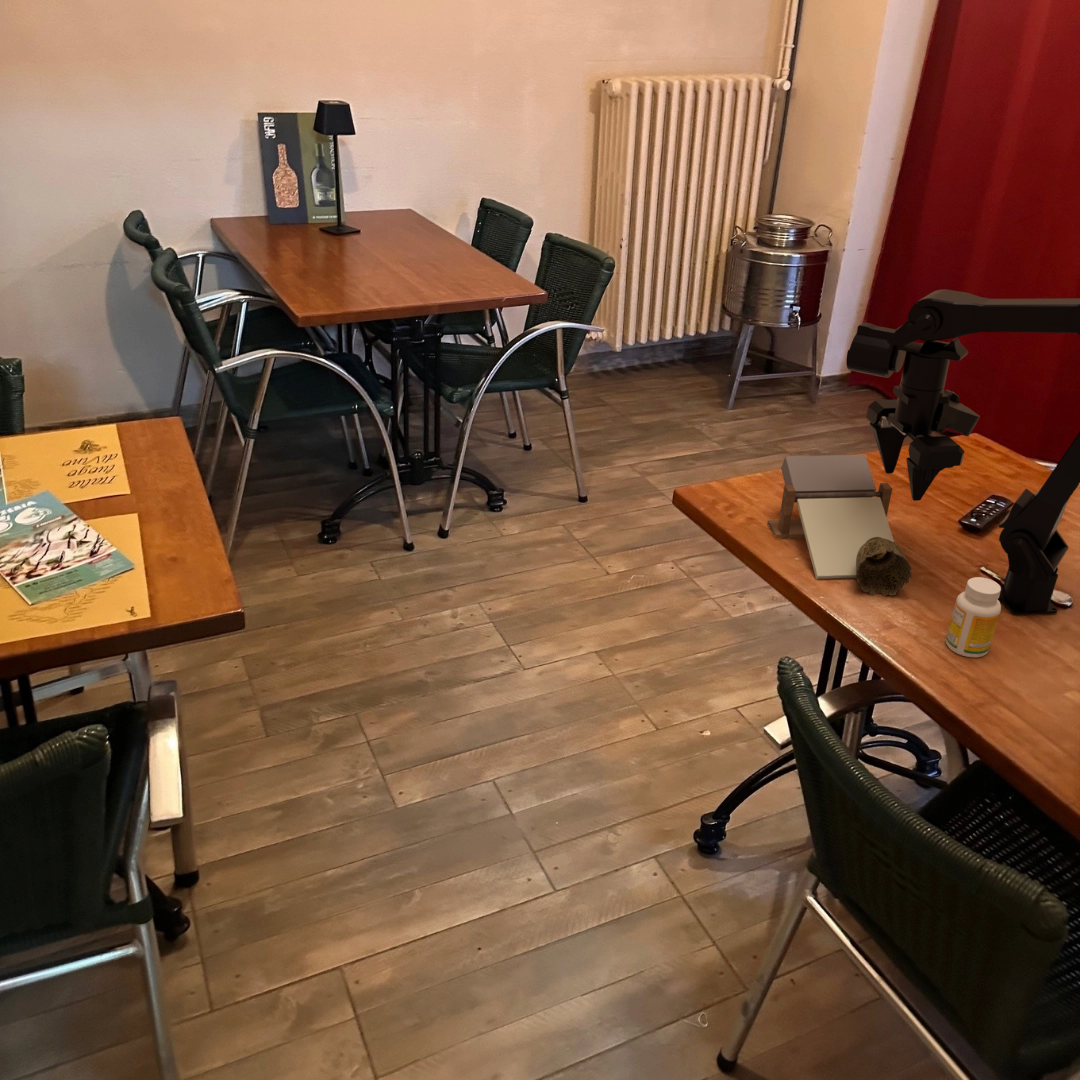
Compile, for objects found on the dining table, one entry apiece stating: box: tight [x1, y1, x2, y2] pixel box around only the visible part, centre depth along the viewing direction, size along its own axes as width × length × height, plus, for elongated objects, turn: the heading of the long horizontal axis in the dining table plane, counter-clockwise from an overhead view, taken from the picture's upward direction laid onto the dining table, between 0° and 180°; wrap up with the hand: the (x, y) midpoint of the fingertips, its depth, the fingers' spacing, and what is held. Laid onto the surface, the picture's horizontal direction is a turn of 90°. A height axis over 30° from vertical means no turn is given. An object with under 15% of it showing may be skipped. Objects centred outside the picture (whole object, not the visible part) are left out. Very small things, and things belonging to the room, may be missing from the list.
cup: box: [856, 537, 913, 597], centre depth 141 cm, size 8×7×8 cm
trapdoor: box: [780, 454, 895, 580], centre depth 151 cm, size 23×13×3 cm, turn 5°
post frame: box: [766, 482, 893, 540], centre depth 155 cm, size 5×18×8 cm, turn 94°
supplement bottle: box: [945, 576, 1002, 658], centre depth 127 cm, size 5×5×10 cm
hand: (902, 486), depth 143 cm, fingers open, 9 cm apart
